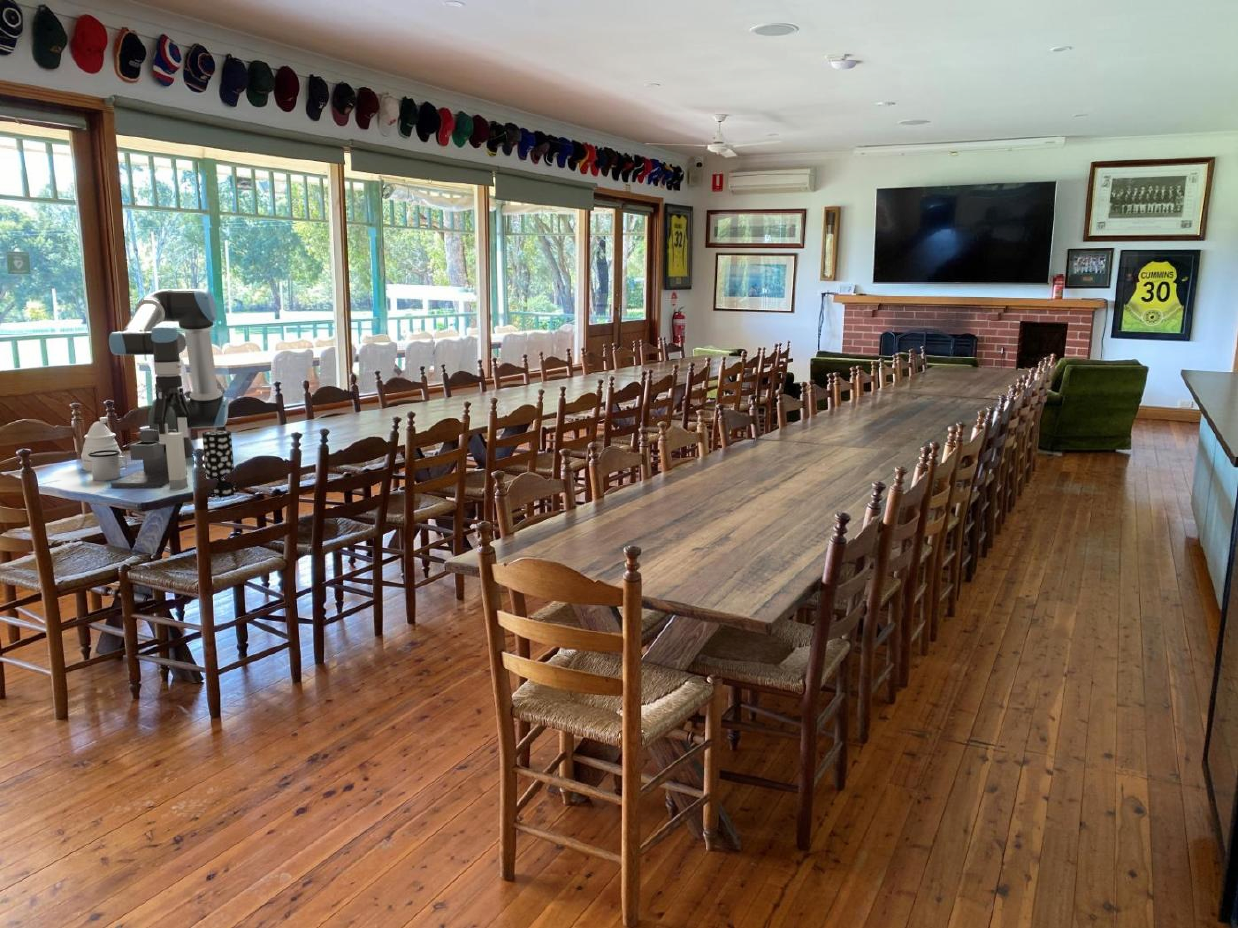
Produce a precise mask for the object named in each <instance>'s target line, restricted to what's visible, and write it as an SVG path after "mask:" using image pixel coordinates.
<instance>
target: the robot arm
mask: <svg viewBox="0 0 1238 928" xmlns="http://www.w3.org/2000/svg"><path fill="white" fill-rule="evenodd" d="M216 305H217V304H216V301H215V298H214V296H213V294H212V293H211V292H210V291H209V290H207V289H200V288H179V289H177V288H176V289H175V288H164V289H158V290H156V291H154V292H150V293H148V294H147V295H145V296H143V297H142V298H141V299H140V300H139V301H138V302H137V304H136V305H135V310H134V312H135V313H134V314H133V315H132V317H131V319H130V320H129V322H128V323H127V325H126V326H125V328H124V329H123V330H122V331H113V332H110V334H109V337H108V346H109V349H110V352H111V354H113V355H114V356H115V355H116V356H124V357H125V356H144V355H145V356H146V355H148V356H149V355H150V356H151V355H153V367H154V375H156V376H155V378H154V379H155V384H156V387H157V388H161V389H162V390H161V392H157V393H156V392H155V399H154V400H152V402H151V405H152V406H153V404H154V402H155V401H156V406H155V413H154V424H158V431H159V442H160V444H169V434H168V424H166V420H167V417H168V413H169V409H170V407H171V408H172V409H173V410H174V413H175V417H176V430H177V433H183V440H184V451H185V458H189V457H193V456H192V454H193V451H194V450H195V451H196V449H195V446H194V444H193V441H192V439H191V437H190V435H189V429H206V428H207V429H208V428H209V429H210V428H212V429H214V428H222V427H225V426H226V424H227V422H228V416H229V398H228V397H227V396H224V394H223V391H222V390H221V389H219V388H218V383H217V374H216V366H215V361H214V353H213V345H212V337H211V329H212V328H213V326H214V322H216V321H218V313H217V311H218V310H217V306H216ZM163 322H174V323H175V322H178V327H179V329H181V330H183V332H184V334H183V333H182V332H179V331H178V328H177V327H176V326H168V325H167V326H165V325H164V326H163V325H162V326H158V325H159V324H161V323H163ZM185 349H186V350H187V356H188V365H189V369H190V370H189V371H190V379H191V384H192V385H191V386H192V391H191V392H190V393H189V397H187V396H186V395H185V394H184V388H183V379H182V376H181V374H182V371H181V370H182V369H181V368H182V364H181V358H180V354H181V353H183V352H184V351H185ZM152 406H151V407H152Z"/></svg>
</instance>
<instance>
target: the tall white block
mask: <svg viewBox="0 0 1238 928" xmlns="http://www.w3.org/2000/svg"><path fill="white" fill-rule="evenodd" d="M168 434H169V444H166V452H167V463H168V473H169V489H170V490H183V489H185V488H188V486H189V485H188V483H189V482H188V476H187V475H188V471H187V472H186V470H187V464H186V462H187V461H186V457H185V451H184V440H183V433H168Z"/></svg>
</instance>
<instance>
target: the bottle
mask: <svg viewBox="0 0 1238 928" xmlns="http://www.w3.org/2000/svg"><path fill="white" fill-rule="evenodd" d="M154 387H155V394H156V393H157V392H161V390H162V389H161V388H157V387H156V383H155V384H154ZM155 406H156V401H155V402H154V404H153V406H151V408H150V409H149V410H148V411H149V412H148V420H147V421H148V428H149V430H158V424H154V413H155ZM166 424H168V430H176V417H175V413H174V410H173V409H172V408H171V407H170V409H169V413H168V417H167V420H166Z"/></svg>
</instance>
